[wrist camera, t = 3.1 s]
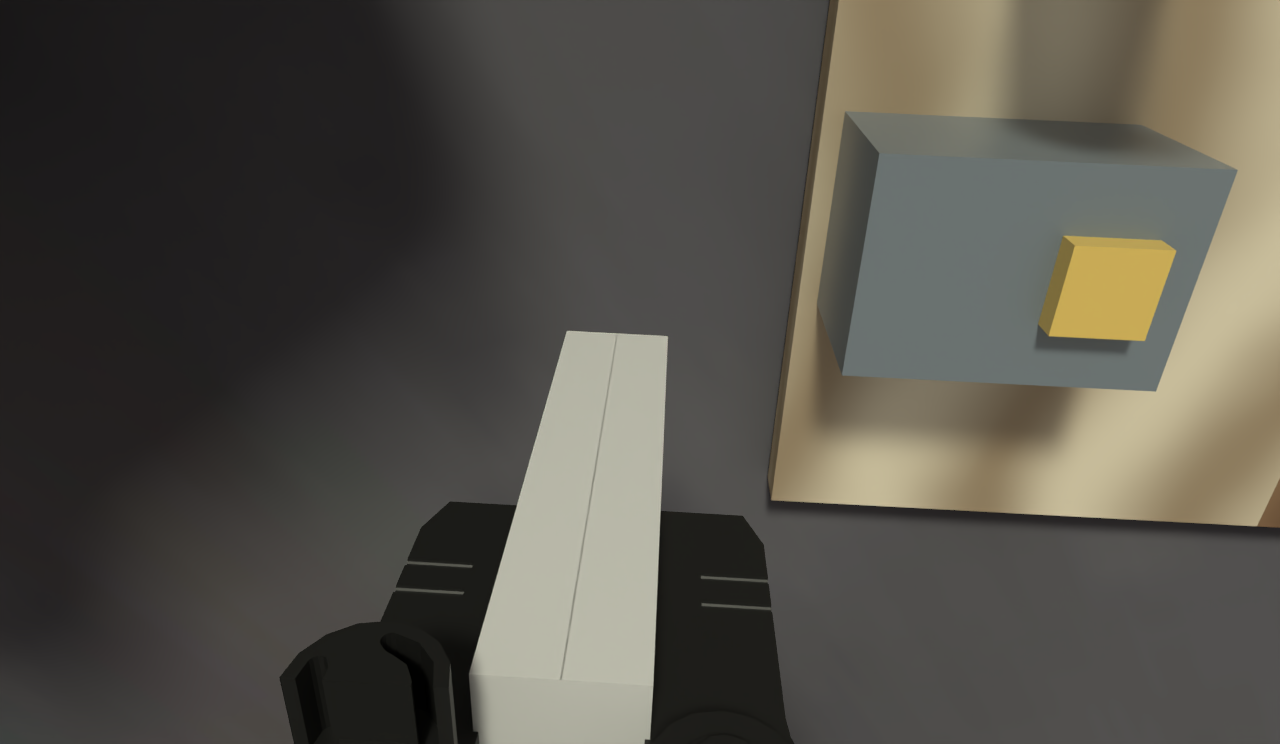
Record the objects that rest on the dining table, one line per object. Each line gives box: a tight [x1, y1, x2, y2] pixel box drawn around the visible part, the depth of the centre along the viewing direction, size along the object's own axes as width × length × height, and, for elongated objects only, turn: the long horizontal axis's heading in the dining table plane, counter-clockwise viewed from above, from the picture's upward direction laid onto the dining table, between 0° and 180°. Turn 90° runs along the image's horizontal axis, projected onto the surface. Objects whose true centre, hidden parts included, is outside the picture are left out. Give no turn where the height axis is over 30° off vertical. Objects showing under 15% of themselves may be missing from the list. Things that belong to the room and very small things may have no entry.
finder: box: [817, 111, 1238, 392], centre depth 20 cm, size 7×5×5 cm
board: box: [768, 0, 1280, 528], centre depth 22 cm, size 24×16×1 cm, turn 88°
